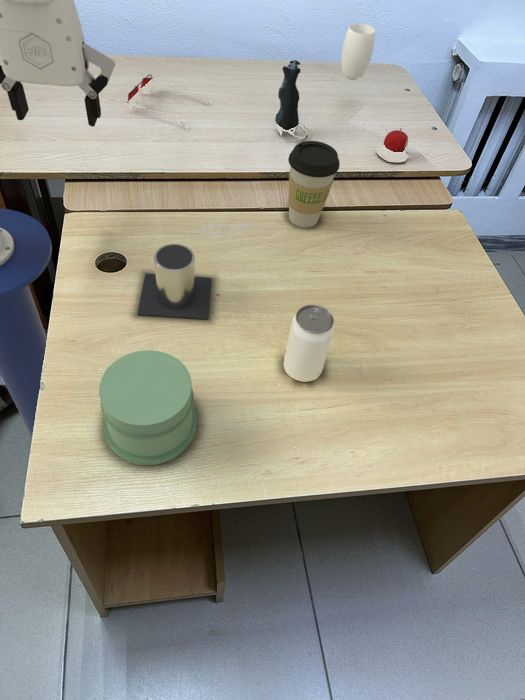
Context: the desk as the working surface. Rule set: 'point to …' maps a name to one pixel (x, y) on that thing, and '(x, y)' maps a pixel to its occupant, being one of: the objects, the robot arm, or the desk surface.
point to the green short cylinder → (148, 407)
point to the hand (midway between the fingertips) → (58, 118)
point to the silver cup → (175, 275)
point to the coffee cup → (310, 180)
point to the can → (308, 342)
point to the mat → (193, 311)
